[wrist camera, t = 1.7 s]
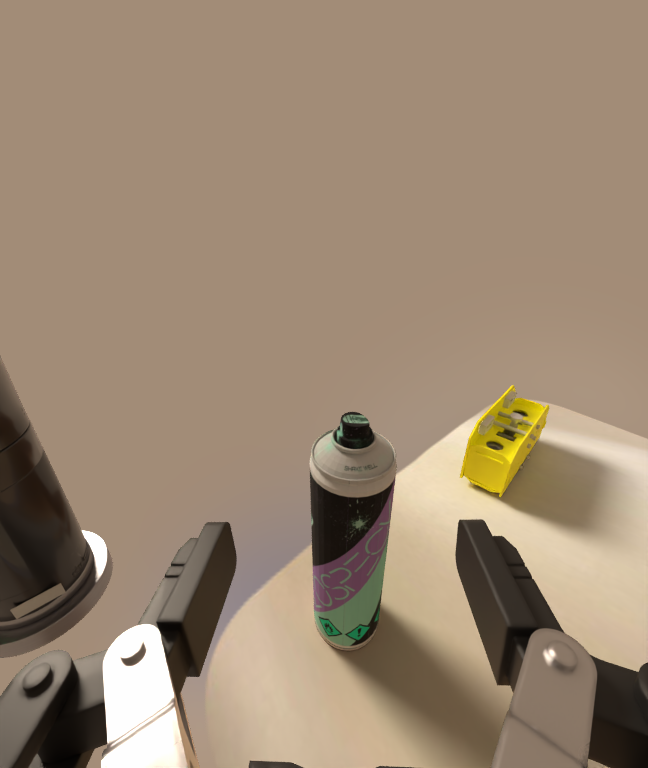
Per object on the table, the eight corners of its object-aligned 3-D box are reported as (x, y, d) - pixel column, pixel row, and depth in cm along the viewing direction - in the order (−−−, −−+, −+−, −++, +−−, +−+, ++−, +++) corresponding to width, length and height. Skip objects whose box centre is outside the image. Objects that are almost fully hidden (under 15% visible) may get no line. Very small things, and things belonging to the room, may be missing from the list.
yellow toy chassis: (499, 427, 55) (512, 379, 51) (540, 442, 51) (557, 392, 47) (455, 480, 44) (467, 425, 40) (501, 503, 41) (520, 446, 37)
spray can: (301, 615, 30) (289, 419, 21) (343, 572, 33) (349, 387, 24) (349, 668, 26) (361, 461, 17) (391, 614, 30) (420, 417, 21)
